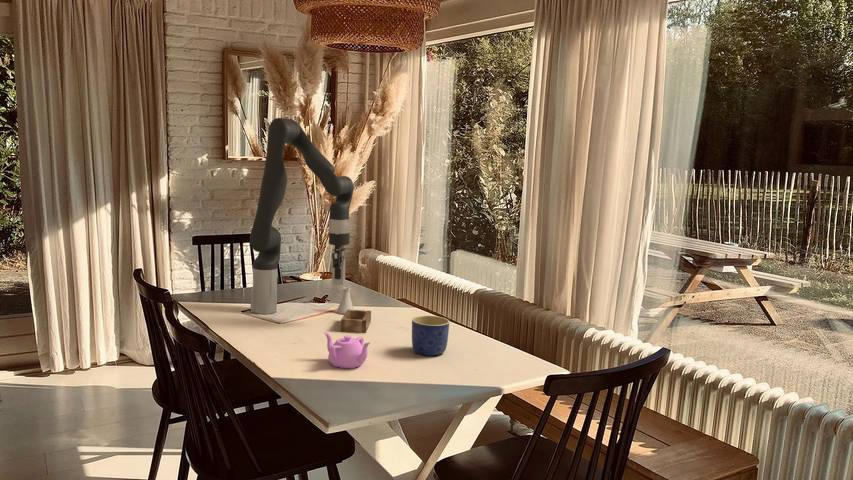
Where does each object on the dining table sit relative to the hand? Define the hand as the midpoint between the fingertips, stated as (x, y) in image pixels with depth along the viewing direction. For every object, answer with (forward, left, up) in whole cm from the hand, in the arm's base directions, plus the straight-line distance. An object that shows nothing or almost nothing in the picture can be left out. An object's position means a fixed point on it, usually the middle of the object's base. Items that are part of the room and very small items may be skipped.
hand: (338, 277), depth 257 cm
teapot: (+10, -42, -18) cm, 47 cm away
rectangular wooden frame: (+7, 0, -18) cm, 19 cm away
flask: (0, +20, -18) cm, 27 cm away
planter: (+35, -25, -18) cm, 47 cm away
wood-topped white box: (0, 0, -2) cm, 2 cm away
